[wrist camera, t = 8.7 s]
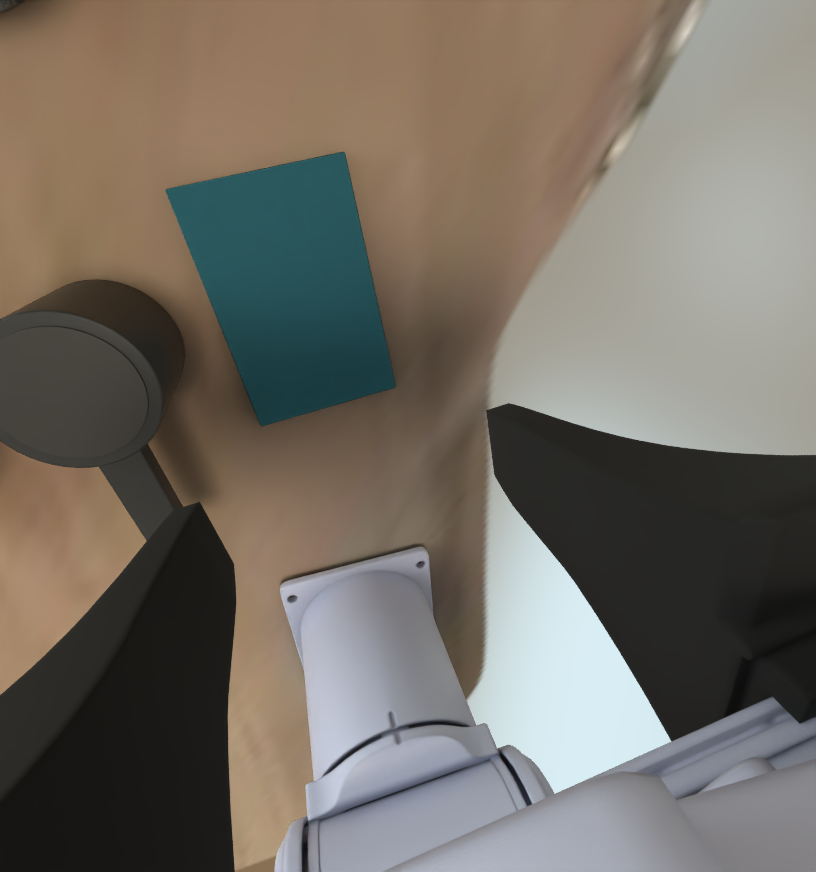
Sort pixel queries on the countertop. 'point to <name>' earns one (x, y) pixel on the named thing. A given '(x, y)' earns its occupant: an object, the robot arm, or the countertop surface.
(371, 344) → the cloth
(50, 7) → the countertop surface
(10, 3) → the grey tall lumpy piece
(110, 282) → the scoop
